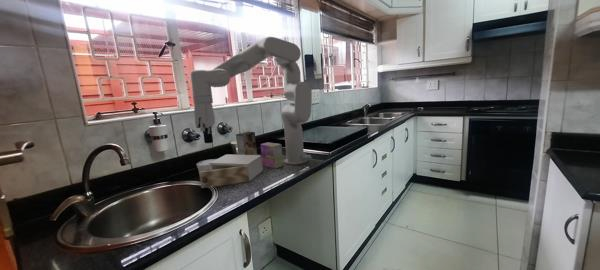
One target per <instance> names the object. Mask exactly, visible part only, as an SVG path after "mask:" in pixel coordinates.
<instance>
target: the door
mask: <svg viewBox="0 0 600 270" xmlns="http://www.w3.org/2000/svg"><path fill="white" fill-rule="evenodd" d="M198 174H199V180H200V188H201V189H205V188H213V187H219V186H226V185H234V184H240V183H247V182H250V181H249V178H248V169H247V166H240V167H232V168H224V169H216V170H209V171H201V172H199V171H198ZM211 186H212V187H211Z"/></svg>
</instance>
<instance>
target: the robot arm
mask: <svg viewBox="0 0 600 270" xmlns="http://www.w3.org/2000/svg"><path fill="white" fill-rule="evenodd" d="M301 55H302V54H301V50H300V48H299V46H298V45H297V44H295V43H293V42H290V41H287V40H284V39H281V38H277V37H275V36H267V37H264V38H262V39H259V40H257V41H256V42H254V43H252V44H251V45H249V46H248V47H246V48H244V49H243V50H241V51H239V52H237V53H236V54H235V55H233V56H232V57H230V58H229V59H227V60H226V61H224V62H222V63H220V64H219V65H218V66H216V67H214V68H213V69H210V70H209V69H208V70H207V69H193V70H191V71H190V73H189V78H190V79H189V80H190V85H191V92H192V99H193V105H194V106H193V107H194V108H193V109H194V122H195V123H194V125H195V128H196V129H199V128H200V132H201V133H202V135H203V141H204V143H205V144H212V143H214V138H213V128H214V125H215V123H216V119H215V113H214V107H213V103H214V101H213V94H212V93H213V92H212V88H223V87H226V86H227V85H229V84H230V81H231V79H232V78H233V77H235V76H238V75H240V74H243V73H245V72H248V71H250V70H251V69H253V68H254V67H255V66H257V65H259V64H260V63H262V62H263V61H265V60H266V59H268V58H271V57H273V59H274V61H275V63H277V64H278V65H279V67H281V69H282V71H283V94H284V98H285V99H286V100H287V101H290V102H291V101H292V103H286V104H284V106H283V107H282V109H281V112H280V113H281V120H282V124H283V129H284V141H285V142H284V143H285V154H286V156H285V159H283V164H285V165H289V166H296V165H302V164H304V163H306V162H307V161H308V160H312V155H311V154H306V152H305V151H304V139H303V127H302V124H304V123H307V122H308V121H309V120H310V118H311V114H312V89H311V87H310V85H309V84H308V83H307V82H305V81H302V80H301V78H302V77H301V69H300V66H299V65H298V62H297V61H299V59H300V58H301ZM293 102H294V103H293Z"/></svg>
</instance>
